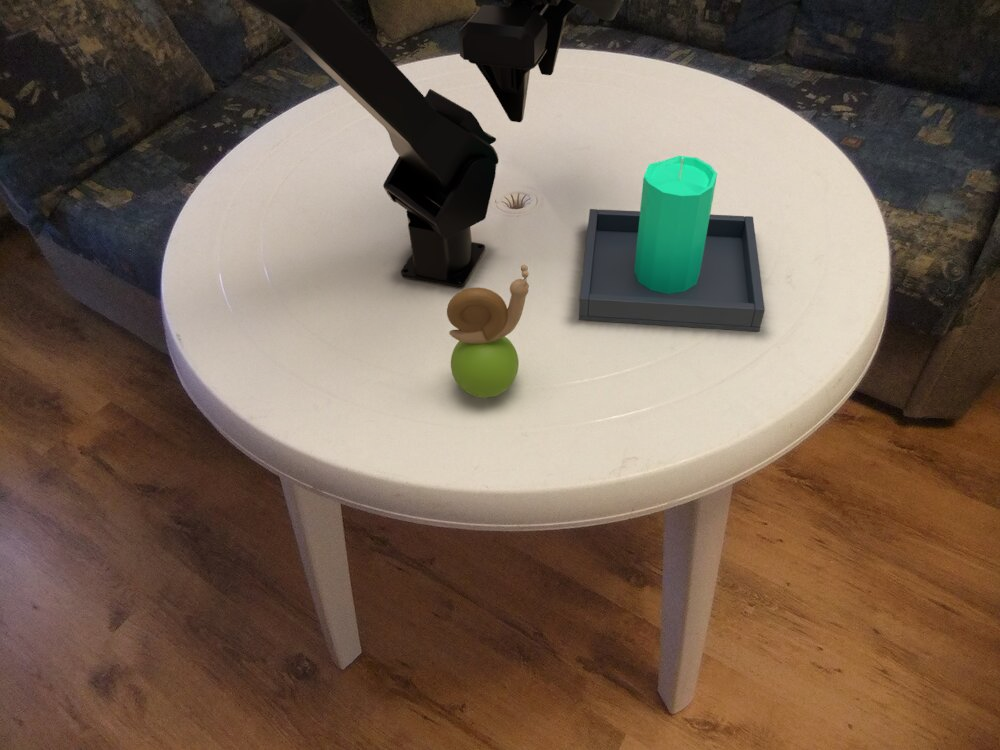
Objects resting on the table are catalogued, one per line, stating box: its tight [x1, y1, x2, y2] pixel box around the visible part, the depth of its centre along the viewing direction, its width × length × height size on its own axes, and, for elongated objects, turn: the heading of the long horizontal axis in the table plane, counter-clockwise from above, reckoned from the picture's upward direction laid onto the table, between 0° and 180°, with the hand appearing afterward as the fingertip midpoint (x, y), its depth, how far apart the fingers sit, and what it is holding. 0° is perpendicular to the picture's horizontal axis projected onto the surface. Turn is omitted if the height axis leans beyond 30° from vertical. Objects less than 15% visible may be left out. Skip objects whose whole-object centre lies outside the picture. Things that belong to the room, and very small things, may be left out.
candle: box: [634, 155, 718, 294], centre depth 70 cm, size 6×6×12 cm
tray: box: [578, 208, 766, 332], centre depth 73 cm, size 16×14×2 cm
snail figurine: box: [446, 264, 530, 398], centre depth 61 cm, size 5×6×12 cm
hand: (532, 96), depth 73 cm, fingers open, 9 cm apart
